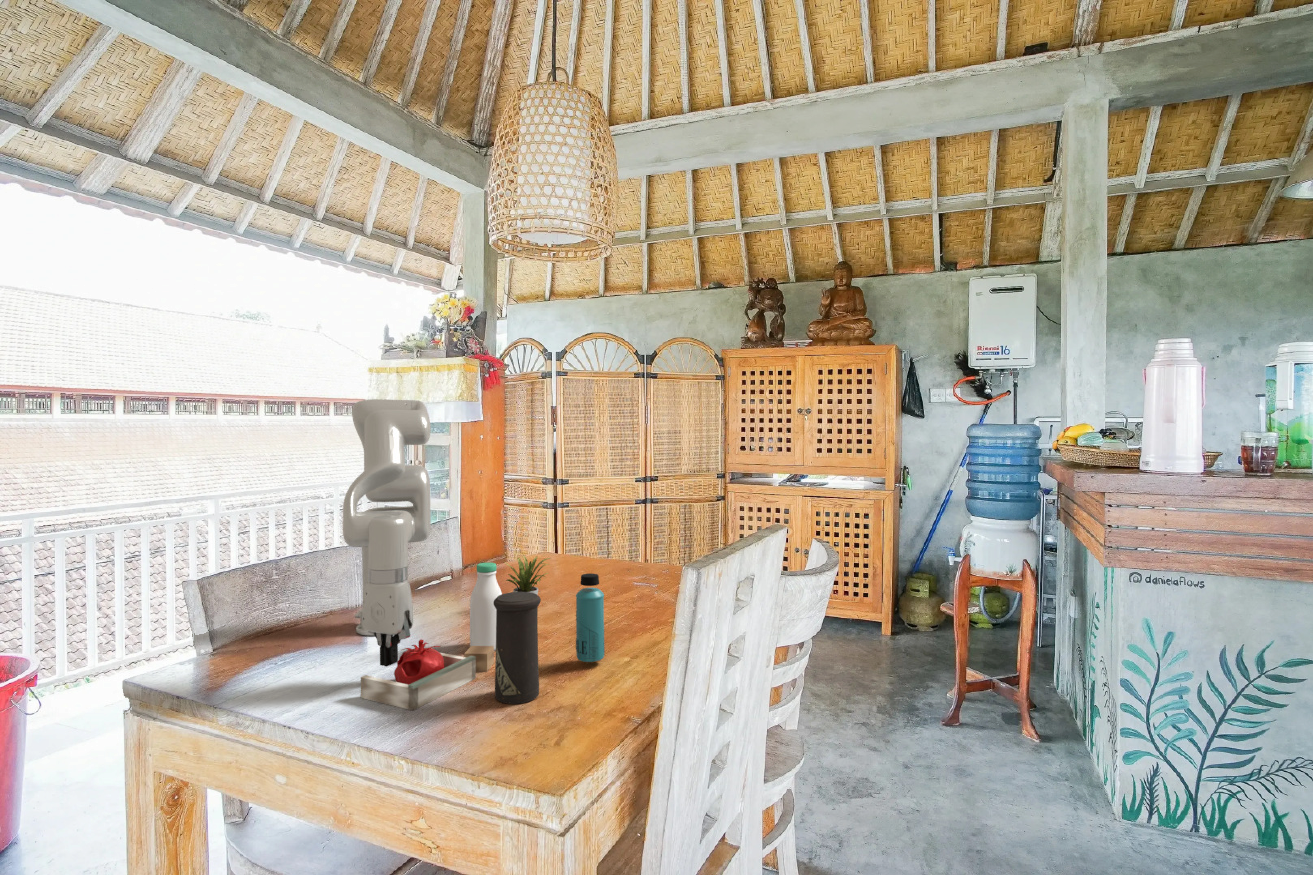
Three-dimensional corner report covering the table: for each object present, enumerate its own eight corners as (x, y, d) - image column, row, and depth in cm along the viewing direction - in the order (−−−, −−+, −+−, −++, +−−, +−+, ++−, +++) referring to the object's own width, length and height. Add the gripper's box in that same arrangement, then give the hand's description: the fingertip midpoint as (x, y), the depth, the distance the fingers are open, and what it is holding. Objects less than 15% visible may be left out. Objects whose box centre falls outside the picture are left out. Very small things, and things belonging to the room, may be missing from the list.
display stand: (360, 697, 127) (360, 674, 127) (426, 668, 142) (426, 647, 142) (413, 710, 121) (413, 685, 121) (475, 678, 137) (475, 656, 137)
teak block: (464, 671, 141) (464, 653, 141) (471, 663, 146) (471, 645, 146) (487, 672, 141) (487, 653, 140) (493, 663, 146) (493, 646, 145)
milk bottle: (494, 653, 152) (494, 567, 151) (463, 651, 153) (463, 566, 153) (508, 643, 159) (508, 561, 159) (479, 641, 161) (479, 560, 160)
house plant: (565, 609, 189) (565, 552, 189) (532, 620, 177) (532, 560, 177) (529, 601, 197) (528, 547, 196) (494, 612, 185) (494, 555, 185)
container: (497, 687, 132) (497, 589, 131) (542, 686, 132) (542, 588, 132) (490, 705, 123) (489, 600, 123) (538, 704, 124) (538, 599, 124)
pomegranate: (429, 672, 140) (430, 629, 141) (454, 684, 134) (454, 639, 134) (384, 685, 133) (385, 639, 133) (408, 698, 126) (408, 649, 127)
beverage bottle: (609, 660, 147) (609, 572, 147) (597, 670, 141) (597, 578, 141) (583, 657, 149) (583, 569, 149) (570, 667, 143) (570, 576, 143)
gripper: (347, 575, 135) (347, 664, 135) (401, 583, 129) (402, 675, 129) (376, 568, 142) (377, 653, 142) (429, 575, 135) (429, 663, 136)
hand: (388, 663), depth 135 cm, fingers closed
